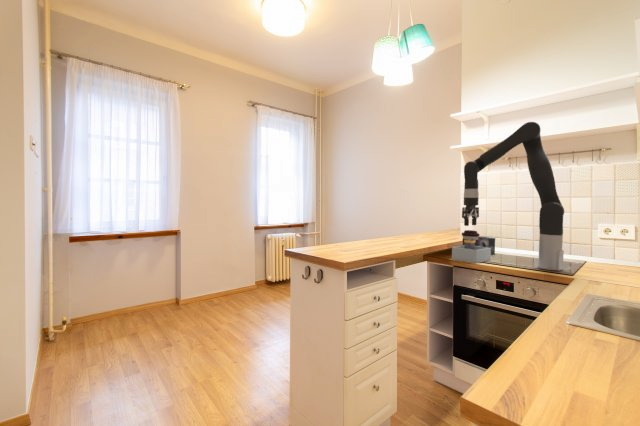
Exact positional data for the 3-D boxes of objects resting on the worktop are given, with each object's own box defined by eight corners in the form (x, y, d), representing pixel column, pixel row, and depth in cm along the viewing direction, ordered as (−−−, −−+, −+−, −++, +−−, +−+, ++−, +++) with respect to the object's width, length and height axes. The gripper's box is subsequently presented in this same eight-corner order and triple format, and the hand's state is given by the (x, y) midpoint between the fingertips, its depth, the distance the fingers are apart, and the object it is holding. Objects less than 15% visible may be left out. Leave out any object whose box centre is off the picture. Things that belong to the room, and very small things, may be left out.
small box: (473, 252, 196) (473, 236, 196) (480, 251, 199) (480, 236, 199) (488, 255, 187) (488, 238, 186) (495, 254, 190) (495, 238, 189)
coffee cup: (458, 254, 189) (458, 230, 189) (465, 252, 195) (466, 229, 195) (474, 256, 181) (474, 231, 181) (481, 254, 187) (482, 231, 187)
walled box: (490, 260, 171) (490, 247, 170) (476, 263, 161) (476, 250, 161) (466, 256, 182) (466, 244, 182) (451, 259, 173) (452, 247, 172)
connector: (475, 257, 172) (475, 240, 172) (471, 258, 169) (471, 241, 169) (467, 256, 176) (468, 239, 175) (463, 257, 173) (464, 240, 172)
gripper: (471, 196, 164) (470, 226, 164) (483, 197, 172) (483, 225, 173) (458, 196, 170) (457, 225, 170) (470, 197, 178) (470, 224, 179)
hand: (470, 225), depth 172 cm, fingers open, 8 cm apart
